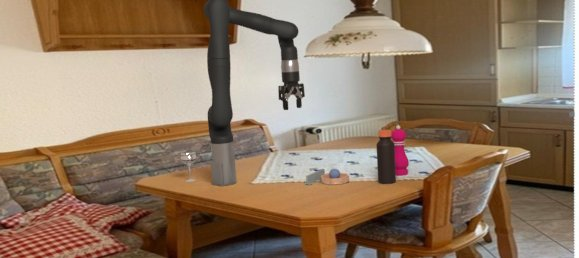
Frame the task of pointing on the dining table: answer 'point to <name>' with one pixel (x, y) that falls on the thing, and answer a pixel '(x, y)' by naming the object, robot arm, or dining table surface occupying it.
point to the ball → (334, 173)
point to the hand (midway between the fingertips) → (292, 108)
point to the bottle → (386, 158)
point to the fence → (314, 177)
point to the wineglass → (188, 161)
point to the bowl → (334, 179)
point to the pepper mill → (400, 151)
